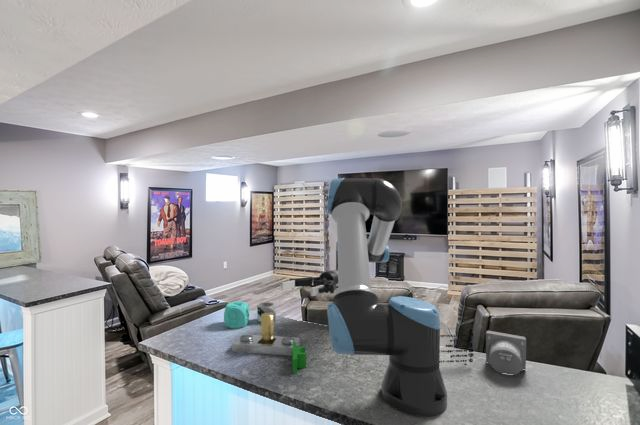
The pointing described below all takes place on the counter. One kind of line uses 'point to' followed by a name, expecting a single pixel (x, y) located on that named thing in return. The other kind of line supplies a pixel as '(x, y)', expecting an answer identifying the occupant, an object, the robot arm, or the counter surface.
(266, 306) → the mug
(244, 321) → the decorative dice
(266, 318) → the link pin
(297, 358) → the pipe clamp
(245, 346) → the plate with dome knobs
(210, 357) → the counter surface
